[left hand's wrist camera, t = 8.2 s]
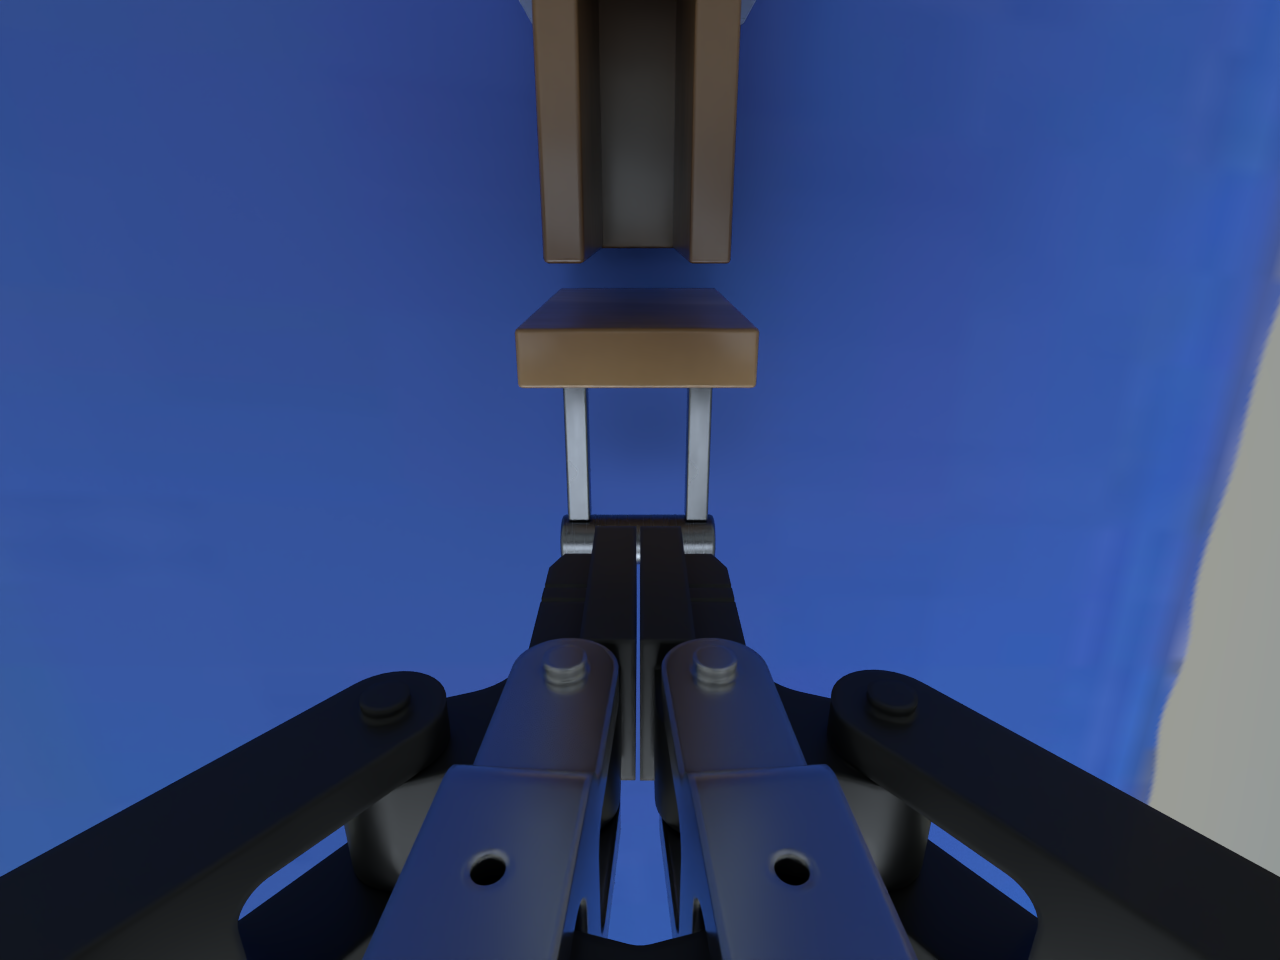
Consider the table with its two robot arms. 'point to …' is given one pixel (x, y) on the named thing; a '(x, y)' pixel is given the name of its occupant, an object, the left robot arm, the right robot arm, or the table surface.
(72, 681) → the table surface
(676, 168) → the drawer
